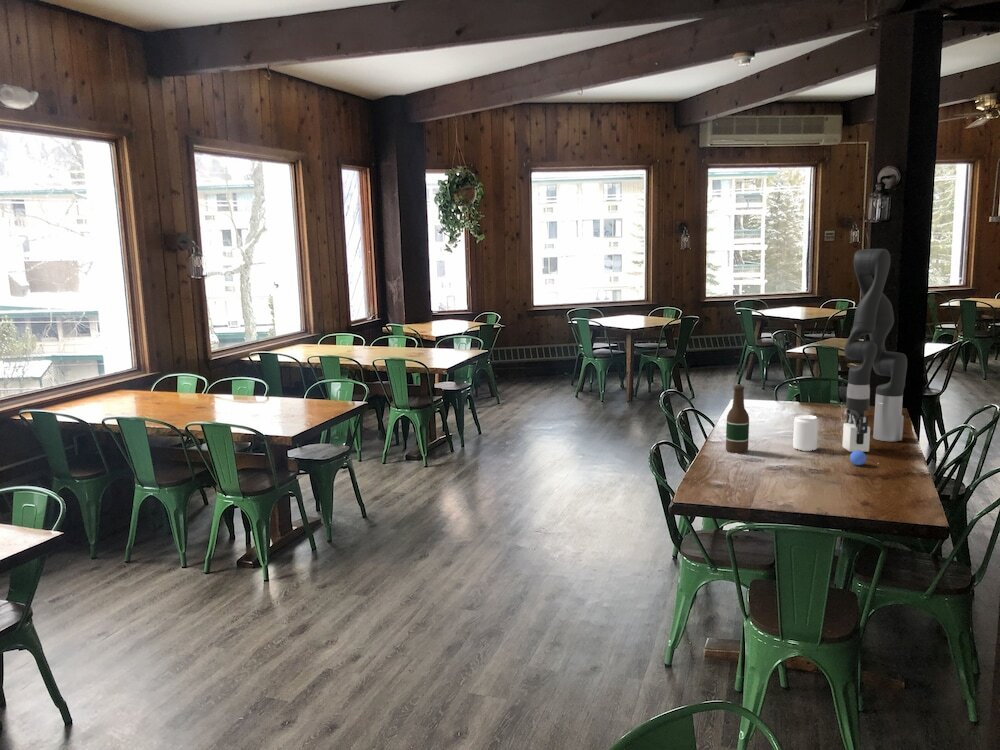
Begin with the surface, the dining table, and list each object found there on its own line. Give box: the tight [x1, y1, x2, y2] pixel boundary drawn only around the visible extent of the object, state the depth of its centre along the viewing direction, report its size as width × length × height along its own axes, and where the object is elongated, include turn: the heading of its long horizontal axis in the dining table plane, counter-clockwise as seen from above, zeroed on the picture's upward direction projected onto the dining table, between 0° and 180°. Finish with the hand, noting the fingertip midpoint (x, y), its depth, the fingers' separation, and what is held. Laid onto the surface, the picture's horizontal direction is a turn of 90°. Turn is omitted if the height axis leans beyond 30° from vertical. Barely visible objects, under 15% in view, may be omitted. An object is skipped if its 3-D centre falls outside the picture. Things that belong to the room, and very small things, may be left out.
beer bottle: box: [725, 385, 750, 454], centre depth 290 cm, size 8×8×24 cm
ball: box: [849, 450, 867, 466], centre depth 272 cm, size 5×5×5 cm
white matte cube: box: [842, 422, 871, 453], centre depth 290 cm, size 7×7×9 cm
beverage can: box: [792, 414, 819, 452], centre depth 293 cm, size 8×8×12 cm
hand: (855, 441), depth 291 cm, fingers closed on white matte cube, 7 cm apart
